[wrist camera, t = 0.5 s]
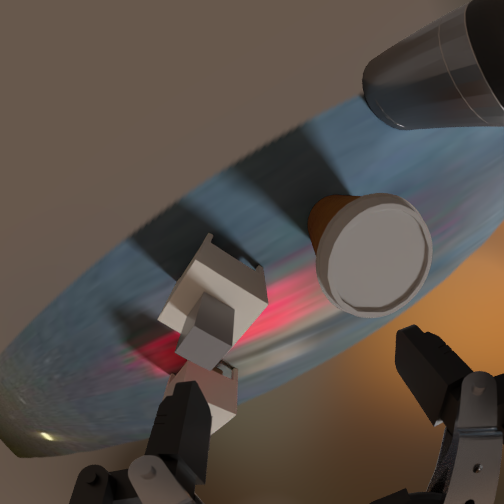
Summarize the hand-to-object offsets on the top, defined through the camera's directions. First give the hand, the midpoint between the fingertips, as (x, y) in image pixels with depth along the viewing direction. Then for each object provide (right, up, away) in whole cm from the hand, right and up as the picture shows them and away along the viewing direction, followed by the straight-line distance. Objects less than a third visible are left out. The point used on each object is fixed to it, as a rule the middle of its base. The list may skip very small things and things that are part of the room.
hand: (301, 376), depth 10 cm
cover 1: (-6, +2, +21) cm, 22 cm away
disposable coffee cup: (+7, +8, +19) cm, 22 cm away
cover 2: (-9, -12, +26) cm, 30 cm away
